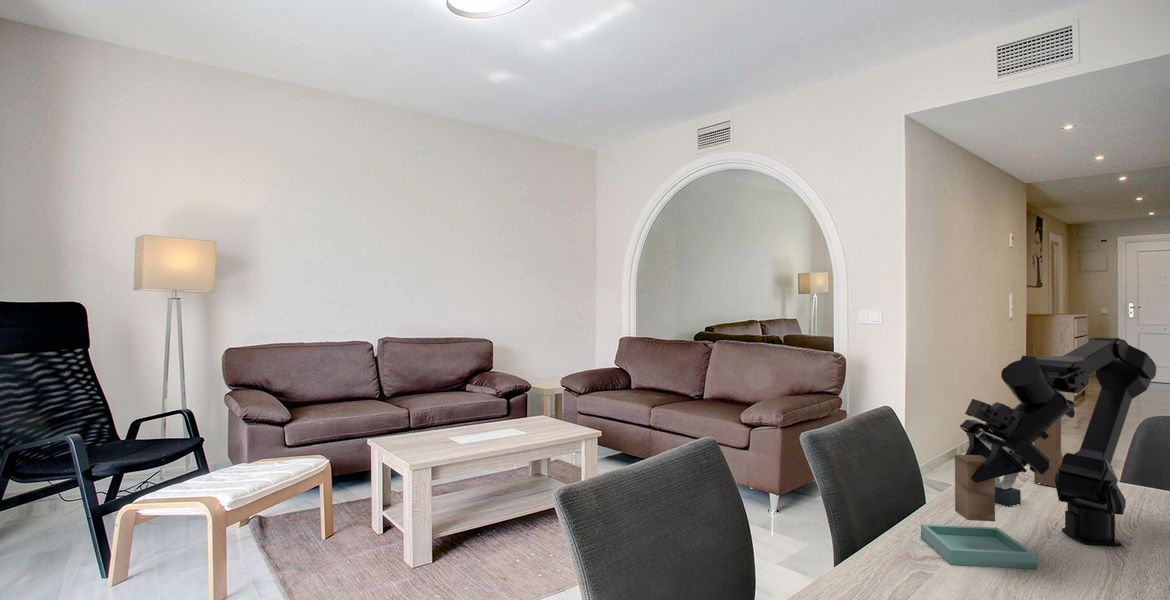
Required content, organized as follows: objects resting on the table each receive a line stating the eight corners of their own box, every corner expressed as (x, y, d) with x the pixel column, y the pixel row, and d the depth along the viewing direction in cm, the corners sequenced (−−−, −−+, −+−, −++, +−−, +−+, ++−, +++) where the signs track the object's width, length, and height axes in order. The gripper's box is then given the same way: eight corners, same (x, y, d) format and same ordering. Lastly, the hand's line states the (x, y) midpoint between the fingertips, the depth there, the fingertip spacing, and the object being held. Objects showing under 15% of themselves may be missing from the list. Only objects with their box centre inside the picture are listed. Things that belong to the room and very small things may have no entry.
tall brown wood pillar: (981, 512, 107) (981, 455, 107) (995, 521, 103) (994, 462, 103) (955, 511, 108) (954, 454, 108) (967, 520, 103) (967, 461, 103)
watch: (1025, 502, 130) (1025, 453, 130) (1003, 508, 127) (1003, 458, 127) (999, 495, 136) (999, 448, 136) (977, 500, 132) (977, 451, 132)
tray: (997, 540, 110) (997, 527, 110) (1036, 569, 99) (1036, 554, 99) (920, 537, 112) (920, 524, 112) (950, 564, 100) (950, 550, 100)
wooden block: (1085, 489, 140) (1085, 414, 140) (1081, 493, 137) (1080, 416, 137) (1038, 480, 147) (1038, 408, 147) (1033, 483, 144) (1033, 411, 144)
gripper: (970, 378, 114) (910, 432, 116) (1030, 393, 96) (958, 458, 97) (1014, 419, 113) (953, 473, 114) (1083, 442, 95) (1009, 507, 96)
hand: (966, 476), depth 106 cm, fingers closed on tall brown wood pillar, 4 cm apart
